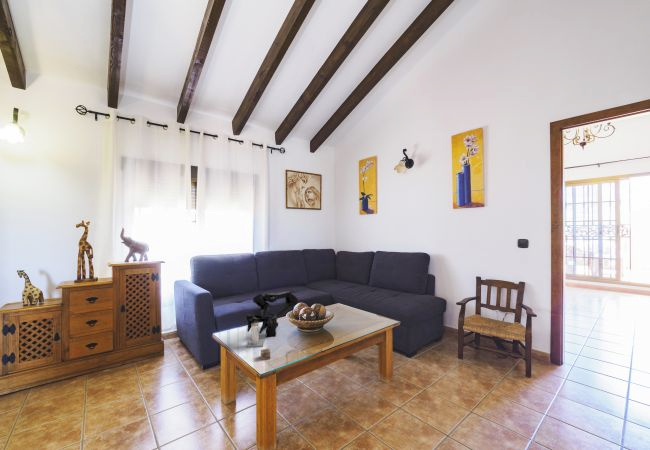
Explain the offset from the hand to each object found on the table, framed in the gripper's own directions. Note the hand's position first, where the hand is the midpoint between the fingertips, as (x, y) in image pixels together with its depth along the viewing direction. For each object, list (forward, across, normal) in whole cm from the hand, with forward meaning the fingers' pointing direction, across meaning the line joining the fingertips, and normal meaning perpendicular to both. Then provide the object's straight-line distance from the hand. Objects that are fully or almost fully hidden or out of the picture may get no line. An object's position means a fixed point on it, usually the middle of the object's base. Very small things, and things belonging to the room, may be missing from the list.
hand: (253, 332), depth 179 cm
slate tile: (+4, 0, +8) cm, 9 cm away
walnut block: (+14, +17, -2) cm, 22 cm away
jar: (+4, 0, +6) cm, 8 cm away
